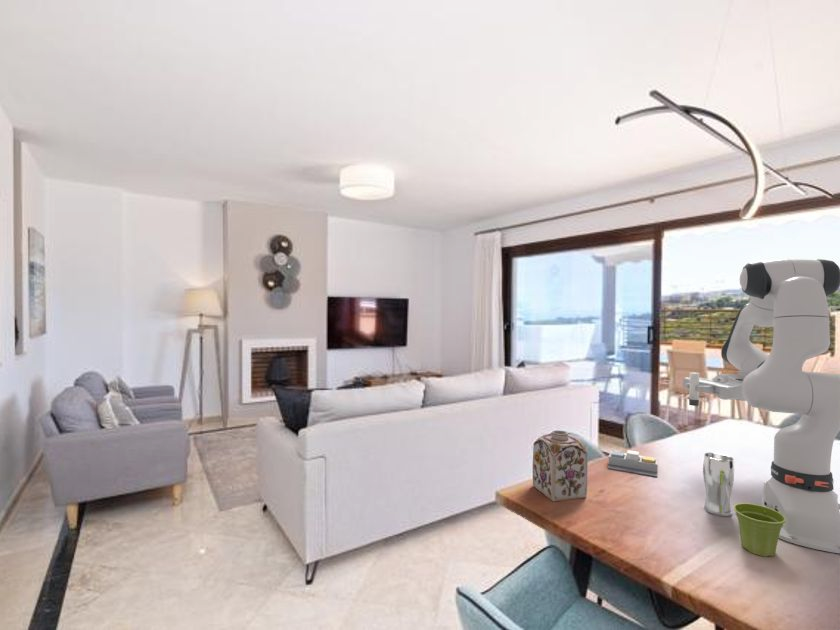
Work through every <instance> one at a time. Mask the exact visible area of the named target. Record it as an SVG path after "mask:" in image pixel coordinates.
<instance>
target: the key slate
mask: <svg viewBox="0 0 840 630" xmlns="http://www.w3.org/2000/svg"><path fill="white" fill-rule="evenodd" d="M611 452H612V457H617V458H623V459H624V453H625V452H622V451H615V450H612V451H611Z"/></svg>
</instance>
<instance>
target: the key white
mask: <svg viewBox="0 0 840 630" xmlns="http://www.w3.org/2000/svg"><path fill="white" fill-rule="evenodd" d="M626 453H627V459H630V460H636V461H639V455H640V451H636V450H629V449H627V451H626Z"/></svg>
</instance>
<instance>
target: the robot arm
mask: <svg viewBox="0 0 840 630" xmlns="http://www.w3.org/2000/svg"><path fill="white" fill-rule="evenodd" d="M739 284H740V287H741V290H742V292H743V293H744V294H745V295H747V296H749V297H750V299H749V302H748V303H746V304H744V305H743V306H742V307H741V308H739V310H738V312H737V314H736V316H735V317H734V321H733V324H732V327H731V329H730V332H729V334H728V336H727V338H726V340H725V342H724V344H723V345H722V347H721V351H720V353H721V354H720V355H721V358H722V360H723V361H725V362H726V363H728V364H730V365H731V366H733V367H735V369H737V370H738V371H739V372H738V373H720V374H717V375H715V376H714V378H713V379H709V378H705V377H704V378H703V377H699V386H695V391H698V392H699V393H700V392H701V393H704V394H705V393H707V394H710V395H713V396H716V397H717V398H719V399H720V400H723V401H725V400H727V401H728V400H737V401H741V402H742V401H743V402H747V404H748V405H750V406H751V407H752V408H756V409H760V410H762V411H767V412H772V413H781V414H782V413H783V414H793V415H794V414H795V415H801V417H800V419H799V420H797V421H796V422H795V423H794V424H791V425H787V426H785V427H783V428H780V429H779V430H778V431H777V432H776V433H775V435H774V438H773V460H772V461H771V465H770V476H771V477H770V478H769V479H768V480H767V481H765V482H763V488H762V489H763V490H762V501H761V506H764V507H768V508H770V509H773V510H775V511H777V512H779V513H781V514H782V515H784V516H785V518H786V522H785V523H783V526H782V528H781V530H780V534H779V538H778V539H780V540H783V541H785V542H788V543H791V544H794V545H799V546H802V547H805V548H810V549H813V550H820V551H824V552H829V553H835V554H840V503H839V502H838V493H836V492H835V491H833V490H835V489H834V482H835V481H834V478H833V477H834V476H833V472H832V471H831V461H832V451H833V445H834V441H836V438H837V435H838V434H839V433H840V373H834V372H833V373H832V372H817V371H815V372H814V371H804V370H803V367H804V364H805V363H806V361H807V360H810V359H813V358H815V357H818V356H821V355H822V354H824V353H825V352H827V351H828V350H829V348H830V345H831V333H830V332H831V330H830V311H829V305H828V298H827V297H829V296H832V295H834V293H836V292H837V291H838V290H839V287H840V266H839V265H838V264H837V263H836V262H835V261H833V260H829V259H828V260H827V259H822V258H820V259H819V258H818V259H804V258H803V259H797V258H796V259H795V258H794V259H793V258H791V259H790V258H781V259H780V258H779V259H769V260H755V261H751V262H748V263H746V264H745V265H744V266H743V267H742V269H741V272H740V275H739ZM755 326H758V327H760V328H761V327H763V328H771V327H772V328H773V336H772V337H773V339H772V346H771V349H770V352H769V354H768V353H766V352H765V351H764V350H762V349H760V348H759V347H757V346H756V345H754V343H752V342H751V340H750V336H751V333H752V332H753V328H754V327H755ZM689 382H690V376H689V377H688V376H687V377H684V378H683V379H682V387H683V388H685V389H686V390H689Z"/></svg>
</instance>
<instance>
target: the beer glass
mask: <svg viewBox="0 0 840 630" xmlns="http://www.w3.org/2000/svg"><path fill="white" fill-rule="evenodd" d="M734 463H735V461H734V457H732V456H730V455H728V454H724V453H718V452H705V453H704V455H703V464H702V465H703V466H702V476H703V477H702V478H703V482H704V488H705V501H704V502H705V503H704V507H703V509H704V510H705V512H707V513H709V514H712V515H714V516H718V517H730V516H732V510H731V504H730V503H731V502H730V500H731V495H732V491H733V487H734V481H735V465H734Z"/></svg>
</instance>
